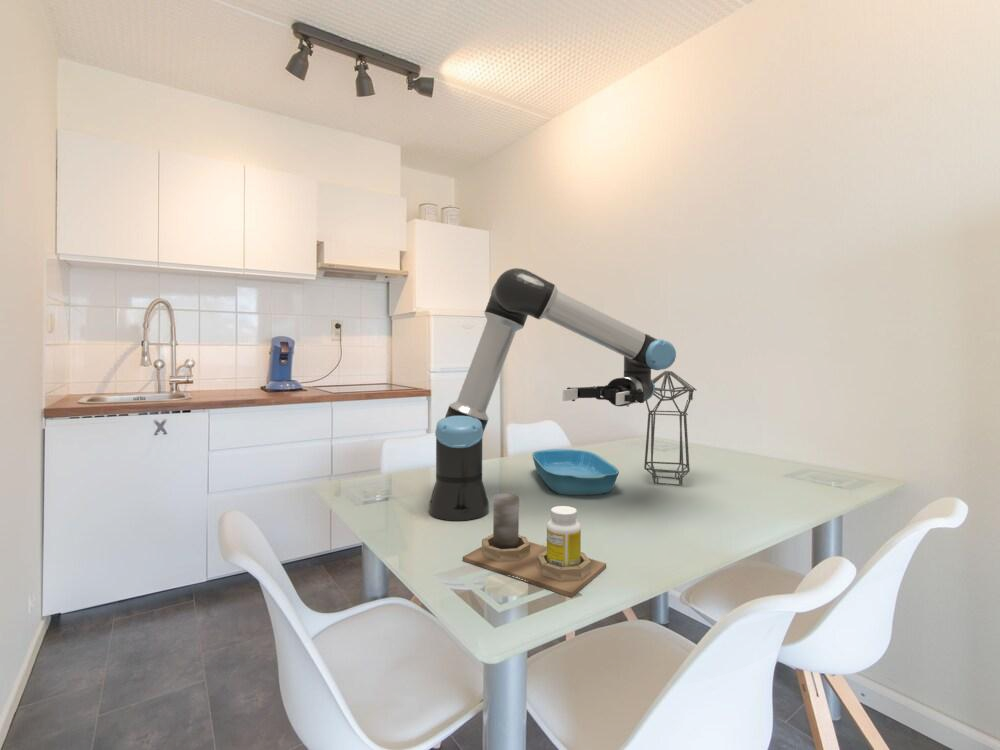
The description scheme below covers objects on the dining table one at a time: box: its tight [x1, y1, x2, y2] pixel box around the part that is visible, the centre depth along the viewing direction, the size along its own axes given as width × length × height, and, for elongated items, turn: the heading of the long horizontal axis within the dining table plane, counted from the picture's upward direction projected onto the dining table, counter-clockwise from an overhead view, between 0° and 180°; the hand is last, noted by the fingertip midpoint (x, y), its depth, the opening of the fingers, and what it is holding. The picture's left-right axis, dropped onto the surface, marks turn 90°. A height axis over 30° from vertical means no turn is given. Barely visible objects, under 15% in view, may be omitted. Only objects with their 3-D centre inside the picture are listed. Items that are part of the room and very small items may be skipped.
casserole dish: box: [531, 448, 620, 496], centre depth 152 cm, size 37×22×7 cm, turn 8°
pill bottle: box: [546, 505, 582, 567], centre depth 89 cm, size 6×6×11 cm
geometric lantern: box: [643, 370, 697, 486], centre depth 154 cm, size 16×16×35 cm
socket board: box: [462, 492, 607, 598], centre depth 93 cm, size 24×14×12 cm, turn 54°
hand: (589, 397), depth 114 cm, fingers open, 13 cm apart
